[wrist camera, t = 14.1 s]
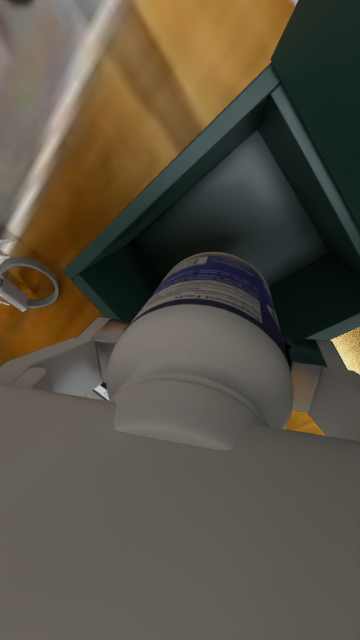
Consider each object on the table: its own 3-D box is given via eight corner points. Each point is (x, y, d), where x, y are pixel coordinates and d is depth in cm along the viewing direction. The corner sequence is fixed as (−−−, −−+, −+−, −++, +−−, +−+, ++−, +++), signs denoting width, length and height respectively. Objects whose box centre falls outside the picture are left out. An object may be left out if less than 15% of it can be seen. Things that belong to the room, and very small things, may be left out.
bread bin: (203, 330, 29) (185, 404, 20) (126, 236, 26) (61, 271, 16) (340, 251, 23) (408, 305, 13) (260, 112, 19) (277, 55, 10)
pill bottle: (259, 357, 14) (280, 594, 6) (160, 342, 14) (66, 533, 7) (284, 254, 11) (381, 441, 3) (161, 242, 12) (10, 370, 4)
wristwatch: (26, 242, 26) (-16, 268, 27) (25, 257, 25) (-19, 284, 25) (68, 282, 31) (32, 304, 31) (70, 297, 29) (32, 320, 30)
